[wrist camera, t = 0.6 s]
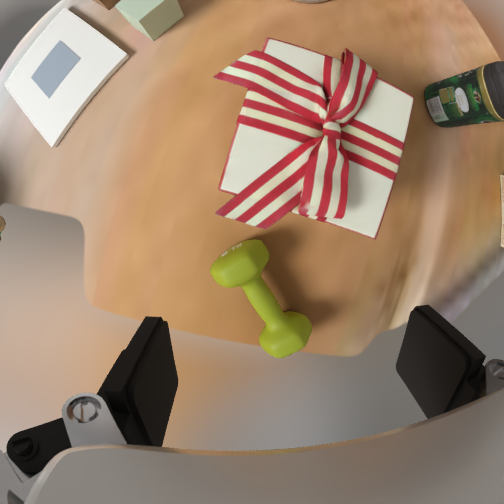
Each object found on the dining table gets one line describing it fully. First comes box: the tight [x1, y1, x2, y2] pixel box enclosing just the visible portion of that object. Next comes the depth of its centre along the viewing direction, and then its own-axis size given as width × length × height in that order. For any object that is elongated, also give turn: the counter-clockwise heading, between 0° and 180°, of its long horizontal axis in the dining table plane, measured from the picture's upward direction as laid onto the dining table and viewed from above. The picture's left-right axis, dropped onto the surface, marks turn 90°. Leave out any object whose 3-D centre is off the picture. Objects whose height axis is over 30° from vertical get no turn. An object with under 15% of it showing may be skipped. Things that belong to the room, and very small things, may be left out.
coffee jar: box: [425, 61, 504, 127], centre depth 24 cm, size 10×8×19 cm
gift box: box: [214, 37, 414, 239], centre depth 27 cm, size 17×18×17 cm
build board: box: [4, 7, 130, 148], centre depth 29 cm, size 18×22×1 cm
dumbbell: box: [210, 239, 312, 358], centre depth 37 cm, size 16×8×7 cm, turn 30°
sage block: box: [115, 0, 184, 41], centre depth 26 cm, size 6×6×7 cm
